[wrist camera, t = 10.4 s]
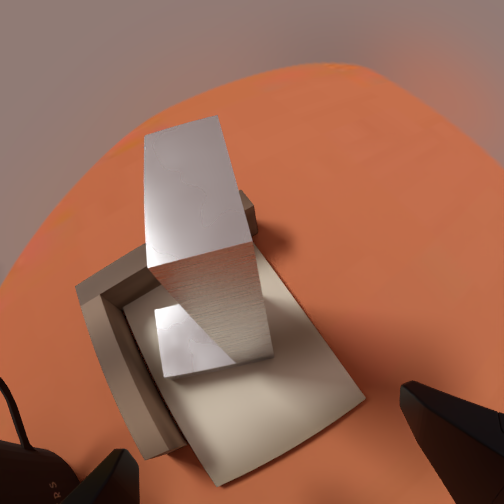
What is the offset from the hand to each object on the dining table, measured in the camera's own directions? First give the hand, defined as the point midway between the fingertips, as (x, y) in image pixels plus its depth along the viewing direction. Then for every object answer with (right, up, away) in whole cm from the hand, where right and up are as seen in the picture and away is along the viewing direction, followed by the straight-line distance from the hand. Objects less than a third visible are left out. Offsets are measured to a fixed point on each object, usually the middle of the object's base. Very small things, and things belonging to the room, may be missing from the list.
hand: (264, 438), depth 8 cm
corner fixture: (-2, 0, +9) cm, 10 cm away
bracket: (-2, +1, +9) cm, 10 cm away
